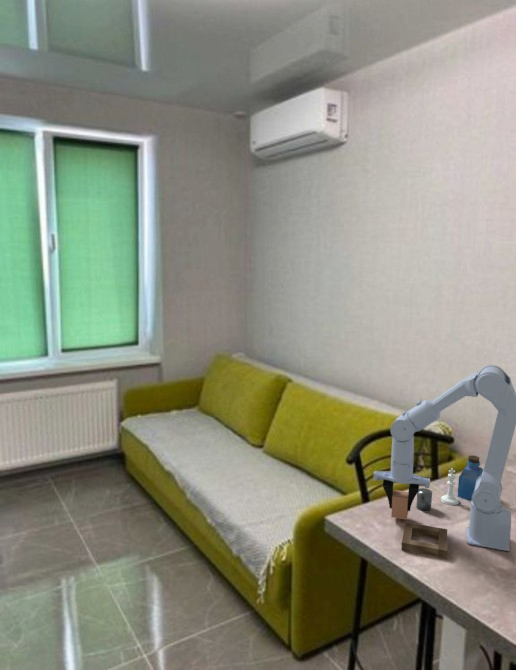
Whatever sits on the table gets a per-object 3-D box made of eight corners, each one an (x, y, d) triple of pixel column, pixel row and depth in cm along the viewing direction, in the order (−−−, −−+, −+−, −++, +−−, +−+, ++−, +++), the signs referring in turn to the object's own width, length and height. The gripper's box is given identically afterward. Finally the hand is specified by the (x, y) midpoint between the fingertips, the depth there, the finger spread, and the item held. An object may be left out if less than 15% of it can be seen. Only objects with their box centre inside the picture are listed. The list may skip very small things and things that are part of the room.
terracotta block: (407, 512, 142) (408, 492, 141) (406, 519, 138) (407, 498, 137) (392, 510, 143) (393, 489, 143) (391, 517, 140) (392, 496, 139)
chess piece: (460, 505, 149) (462, 472, 147) (442, 504, 150) (444, 471, 148) (457, 498, 154) (459, 466, 152) (439, 496, 155) (441, 464, 153)
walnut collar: (446, 536, 133) (447, 529, 132) (446, 558, 123) (447, 550, 123) (404, 529, 136) (405, 521, 136) (401, 550, 126) (401, 542, 126)
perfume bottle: (463, 489, 160) (465, 451, 158) (484, 494, 156) (487, 456, 154) (457, 496, 155) (460, 458, 153) (479, 502, 151) (482, 463, 149)
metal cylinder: (431, 506, 149) (432, 489, 148) (430, 512, 145) (431, 495, 144) (416, 503, 150) (417, 487, 149) (416, 510, 146) (416, 493, 146)
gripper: (431, 458, 140) (428, 505, 142) (376, 451, 145) (374, 497, 147) (430, 468, 133) (427, 518, 135) (373, 461, 138) (371, 508, 140)
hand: (400, 508), depth 141 cm, fingers closed on terracotta block, 4 cm apart
